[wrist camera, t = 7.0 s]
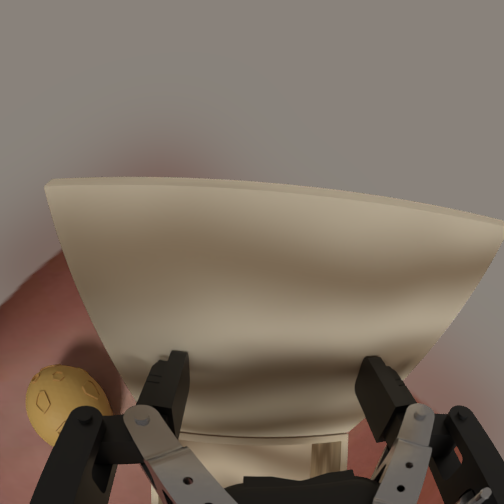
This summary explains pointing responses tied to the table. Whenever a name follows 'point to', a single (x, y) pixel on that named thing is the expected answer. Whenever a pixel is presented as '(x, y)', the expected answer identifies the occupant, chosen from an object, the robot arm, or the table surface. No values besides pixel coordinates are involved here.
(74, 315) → the table surface
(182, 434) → the carton
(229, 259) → the lid flap
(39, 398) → the stress ball
